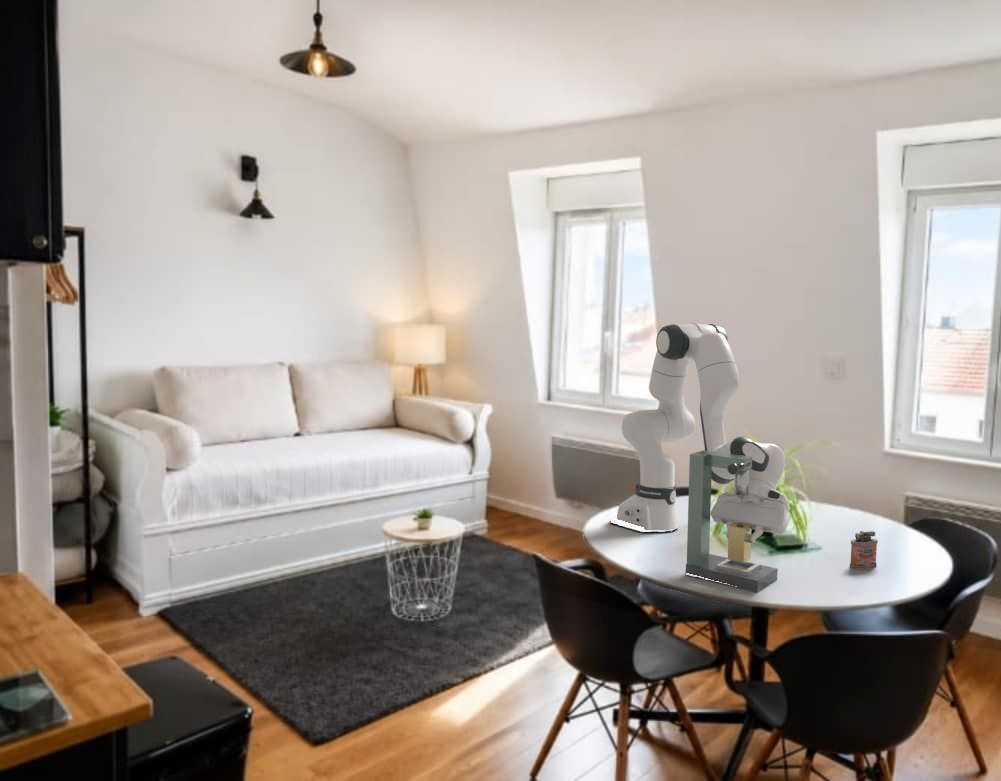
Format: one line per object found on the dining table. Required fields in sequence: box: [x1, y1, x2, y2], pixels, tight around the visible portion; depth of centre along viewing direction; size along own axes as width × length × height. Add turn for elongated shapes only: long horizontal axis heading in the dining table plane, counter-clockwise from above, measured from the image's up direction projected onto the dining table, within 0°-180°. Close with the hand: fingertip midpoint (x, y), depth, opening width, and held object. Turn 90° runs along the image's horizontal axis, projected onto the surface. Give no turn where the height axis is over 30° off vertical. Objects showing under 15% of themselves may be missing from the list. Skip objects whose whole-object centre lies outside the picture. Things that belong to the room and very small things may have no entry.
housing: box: [727, 523, 752, 563], centre depth 213 cm, size 4×4×9 cm
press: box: [685, 450, 779, 593], centre depth 212 cm, size 20×18×33 cm
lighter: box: [849, 530, 879, 570], centre depth 225 cm, size 8×3×10 cm, turn 106°
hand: (739, 539), depth 213 cm, fingers closed on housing, 4 cm apart
